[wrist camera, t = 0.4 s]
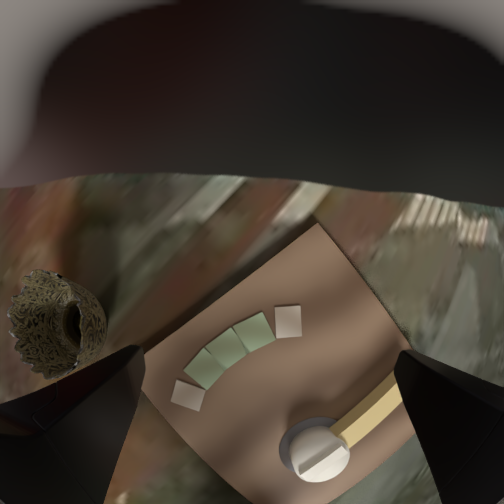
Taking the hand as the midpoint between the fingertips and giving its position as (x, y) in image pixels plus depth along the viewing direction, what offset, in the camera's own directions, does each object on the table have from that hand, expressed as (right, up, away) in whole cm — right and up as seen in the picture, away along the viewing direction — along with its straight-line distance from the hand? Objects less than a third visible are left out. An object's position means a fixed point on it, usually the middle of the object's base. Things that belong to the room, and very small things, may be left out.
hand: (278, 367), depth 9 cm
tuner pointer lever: (+8, -10, +11) cm, 17 cm away
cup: (-15, -3, +14) cm, 20 cm away
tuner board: (+3, -9, +13) cm, 16 cm away
